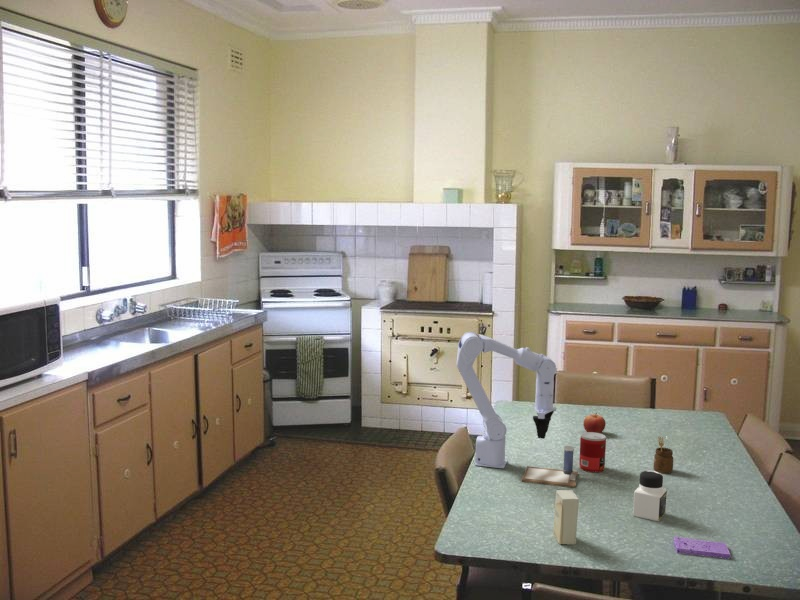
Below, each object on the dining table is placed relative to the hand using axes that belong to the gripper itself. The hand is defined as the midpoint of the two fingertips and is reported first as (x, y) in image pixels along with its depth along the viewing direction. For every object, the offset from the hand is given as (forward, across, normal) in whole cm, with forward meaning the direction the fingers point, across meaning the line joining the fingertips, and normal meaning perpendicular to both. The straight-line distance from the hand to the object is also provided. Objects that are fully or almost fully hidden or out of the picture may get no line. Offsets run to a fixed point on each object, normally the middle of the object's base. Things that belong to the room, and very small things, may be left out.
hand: (542, 434), depth 257 cm
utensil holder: (+10, +6, -38) cm, 40 cm away
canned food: (+10, +1, -16) cm, 19 cm away
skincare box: (+10, -57, -12) cm, 59 cm away
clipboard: (+10, -12, -4) cm, 16 cm away
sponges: (+11, -52, -45) cm, 70 cm away
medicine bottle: (+10, -33, -33) cm, 48 cm away
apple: (+10, +41, -15) cm, 45 cm away
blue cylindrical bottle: (+9, -8, -9) cm, 15 cm away
